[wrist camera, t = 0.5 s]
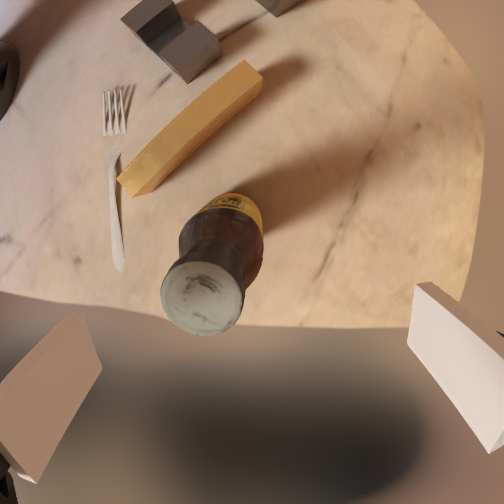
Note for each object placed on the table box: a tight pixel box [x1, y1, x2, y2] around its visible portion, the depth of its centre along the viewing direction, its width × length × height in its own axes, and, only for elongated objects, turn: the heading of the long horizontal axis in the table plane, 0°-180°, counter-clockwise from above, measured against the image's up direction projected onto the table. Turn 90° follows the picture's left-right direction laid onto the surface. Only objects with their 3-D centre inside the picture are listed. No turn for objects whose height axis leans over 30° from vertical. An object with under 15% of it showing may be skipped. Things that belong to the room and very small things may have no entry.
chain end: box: [120, 0, 222, 84], centre depth 25 cm, size 10×5×5 cm, turn 42°
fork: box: [103, 89, 126, 272], centre depth 32 cm, size 3×24×2 cm, turn 179°
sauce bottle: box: [161, 193, 264, 336], centre depth 23 cm, size 7×6×20 cm
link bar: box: [116, 60, 263, 197], centre depth 28 cm, size 2×16×6 cm, turn 132°
